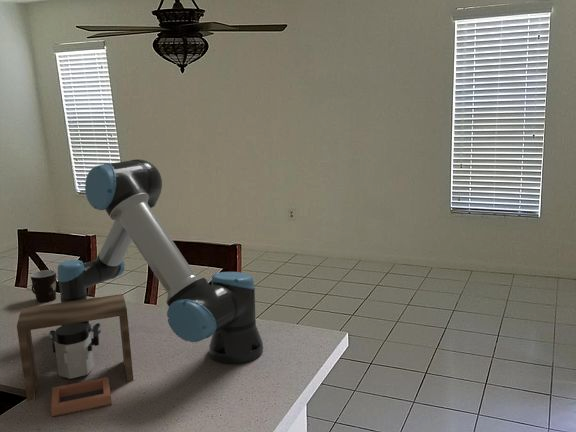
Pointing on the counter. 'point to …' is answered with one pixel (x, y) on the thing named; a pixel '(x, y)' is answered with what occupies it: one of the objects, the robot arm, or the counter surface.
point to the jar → (73, 350)
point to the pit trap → (80, 396)
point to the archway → (68, 315)
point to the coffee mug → (44, 285)
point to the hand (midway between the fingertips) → (76, 356)
